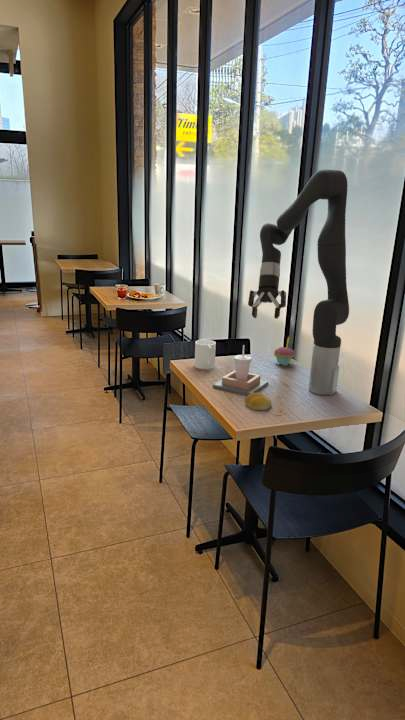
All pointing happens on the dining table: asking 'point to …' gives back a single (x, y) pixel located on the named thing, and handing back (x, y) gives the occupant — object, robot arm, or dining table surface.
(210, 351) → the cup
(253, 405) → the bread roll
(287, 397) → the dining table surface
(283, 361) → the cupcake
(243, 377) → the smoothie
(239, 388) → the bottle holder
